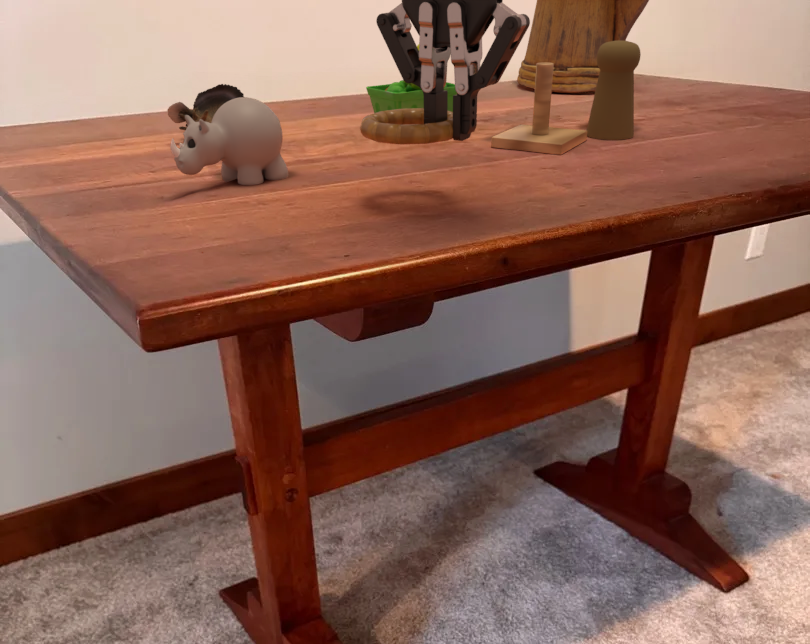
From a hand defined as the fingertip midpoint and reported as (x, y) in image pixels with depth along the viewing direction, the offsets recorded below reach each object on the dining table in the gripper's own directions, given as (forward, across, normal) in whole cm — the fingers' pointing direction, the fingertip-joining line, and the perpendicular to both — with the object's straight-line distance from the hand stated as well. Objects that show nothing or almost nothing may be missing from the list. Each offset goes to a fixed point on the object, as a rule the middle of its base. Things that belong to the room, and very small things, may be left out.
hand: (450, 137), depth 69 cm
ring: (-1, -4, 0) cm, 4 cm away
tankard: (+7, -14, +77) cm, 78 cm away
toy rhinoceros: (+7, -24, -2) cm, 25 cm away
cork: (+7, +2, +41) cm, 41 cm away
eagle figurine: (+7, -42, +15) cm, 45 cm away
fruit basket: (+7, -23, +35) cm, 42 cm away
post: (+7, -4, +32) cm, 33 cm away
